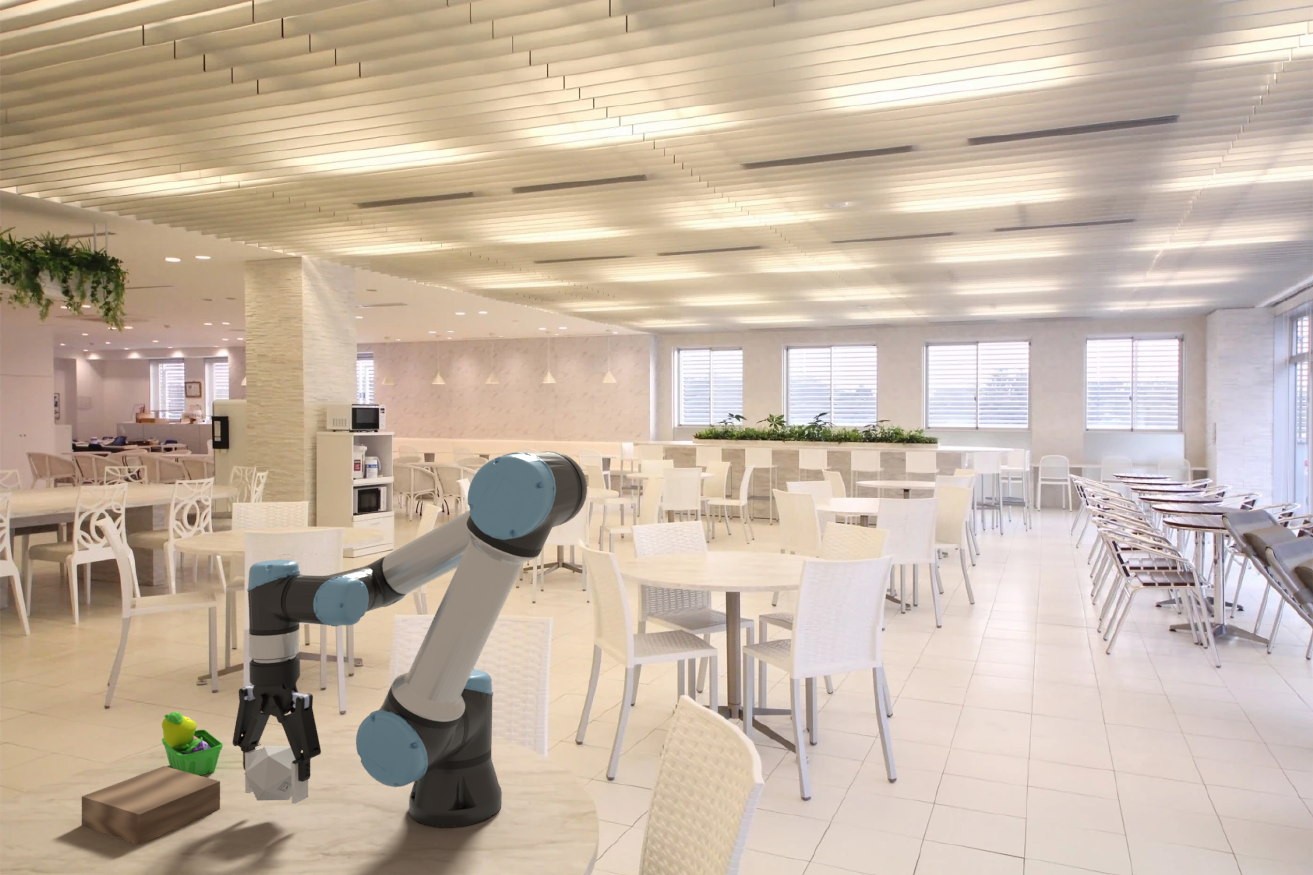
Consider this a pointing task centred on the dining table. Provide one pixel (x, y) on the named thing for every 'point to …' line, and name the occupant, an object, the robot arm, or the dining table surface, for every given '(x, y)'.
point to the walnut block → (150, 804)
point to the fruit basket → (189, 745)
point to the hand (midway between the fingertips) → (276, 794)
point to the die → (271, 773)
